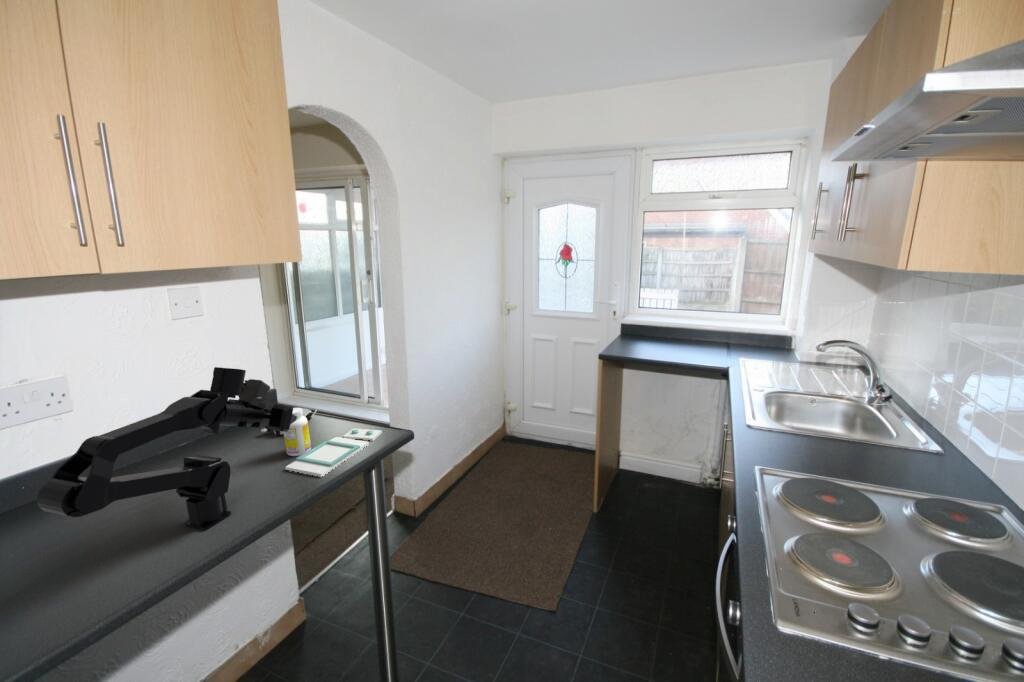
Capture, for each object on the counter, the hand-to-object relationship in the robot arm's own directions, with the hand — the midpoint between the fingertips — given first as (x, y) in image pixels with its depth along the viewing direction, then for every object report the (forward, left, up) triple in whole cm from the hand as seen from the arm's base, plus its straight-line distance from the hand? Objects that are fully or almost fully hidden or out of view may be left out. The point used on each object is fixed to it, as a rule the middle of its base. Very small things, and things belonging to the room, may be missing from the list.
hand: (281, 416), depth 124 cm
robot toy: (+21, +21, -15) cm, 33 cm away
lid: (+23, -7, -15) cm, 28 cm away
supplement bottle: (+8, +4, -15) cm, 18 cm away
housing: (+8, -7, -15) cm, 18 cm away
